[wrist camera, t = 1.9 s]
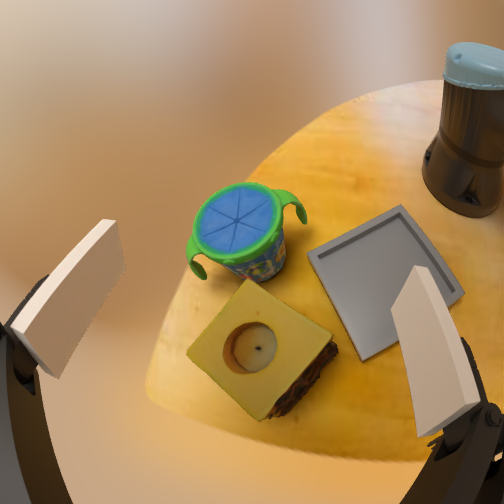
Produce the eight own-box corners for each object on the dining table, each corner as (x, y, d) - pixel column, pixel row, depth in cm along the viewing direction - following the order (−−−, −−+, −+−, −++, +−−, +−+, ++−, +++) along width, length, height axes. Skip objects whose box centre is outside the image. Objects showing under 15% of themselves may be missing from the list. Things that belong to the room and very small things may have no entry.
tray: (399, 212, 35) (400, 204, 33) (459, 298, 27) (465, 293, 25) (308, 260, 36) (306, 253, 35) (361, 362, 28) (362, 360, 26)
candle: (340, 350, 29) (338, 332, 21) (285, 418, 27) (261, 427, 19) (274, 305, 35) (249, 272, 27) (224, 366, 33) (182, 353, 25)
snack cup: (297, 209, 41) (281, 160, 32) (327, 266, 35) (319, 221, 27) (203, 252, 42) (169, 214, 34) (218, 313, 37) (179, 284, 28)
